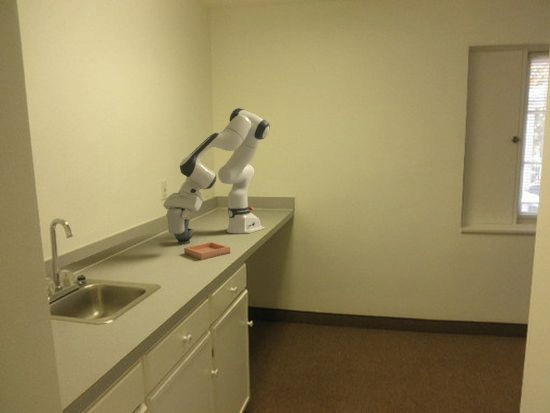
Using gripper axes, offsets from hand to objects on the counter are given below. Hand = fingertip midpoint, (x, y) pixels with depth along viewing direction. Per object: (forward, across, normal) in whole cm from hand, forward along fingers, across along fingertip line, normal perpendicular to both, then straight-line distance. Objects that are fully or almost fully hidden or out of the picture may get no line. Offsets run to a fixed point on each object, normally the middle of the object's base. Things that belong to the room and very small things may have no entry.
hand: (174, 217), depth 197 cm
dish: (+9, +15, +15) cm, 23 cm away
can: (+5, 0, +6) cm, 8 cm away
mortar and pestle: (+1, -11, +24) cm, 27 cm away
